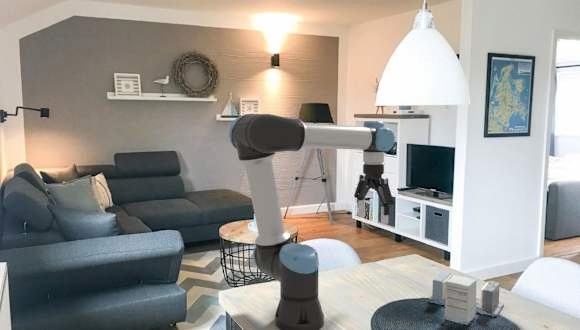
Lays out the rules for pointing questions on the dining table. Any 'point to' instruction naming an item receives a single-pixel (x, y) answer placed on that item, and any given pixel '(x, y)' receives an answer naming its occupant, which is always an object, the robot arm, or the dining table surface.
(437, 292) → the block
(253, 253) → the robot arm
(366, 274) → the dining table surface
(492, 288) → the vise
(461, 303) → the supplement box
